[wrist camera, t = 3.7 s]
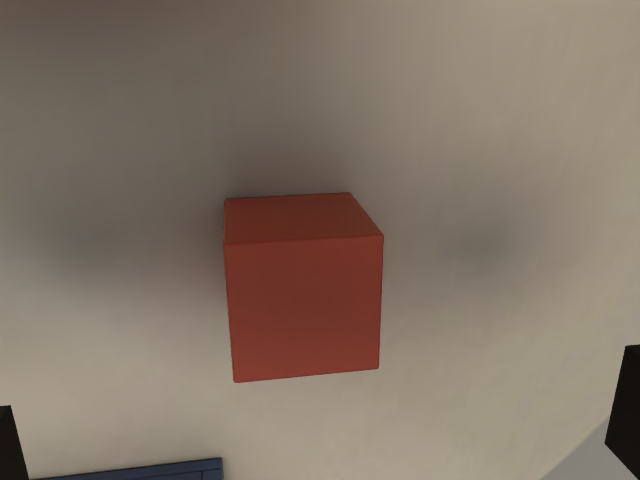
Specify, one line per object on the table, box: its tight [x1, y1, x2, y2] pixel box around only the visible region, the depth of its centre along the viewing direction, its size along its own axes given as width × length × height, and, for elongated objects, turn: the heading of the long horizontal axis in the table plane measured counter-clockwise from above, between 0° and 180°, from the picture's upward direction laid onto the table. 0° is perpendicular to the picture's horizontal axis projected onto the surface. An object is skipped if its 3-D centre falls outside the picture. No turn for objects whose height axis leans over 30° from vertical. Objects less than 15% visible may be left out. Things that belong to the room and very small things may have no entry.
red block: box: [223, 193, 384, 383], centre depth 18 cm, size 5×5×5 cm
